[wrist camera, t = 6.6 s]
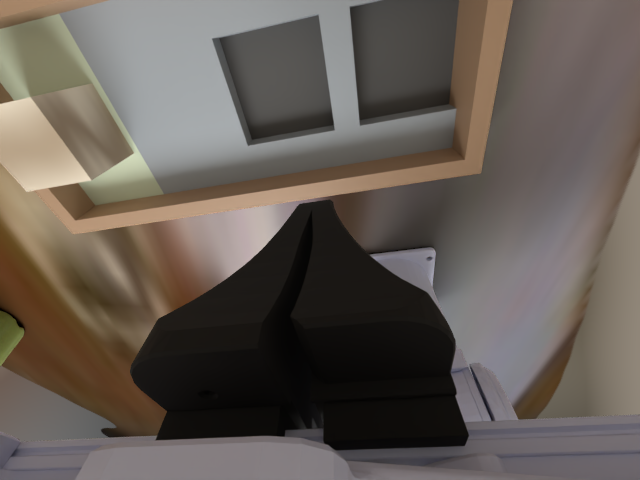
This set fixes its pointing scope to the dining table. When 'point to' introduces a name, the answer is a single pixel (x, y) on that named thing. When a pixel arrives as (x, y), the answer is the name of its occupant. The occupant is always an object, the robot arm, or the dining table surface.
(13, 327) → the plant pot
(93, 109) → the birch cube
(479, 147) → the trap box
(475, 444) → the robot arm
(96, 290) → the dining table surface
